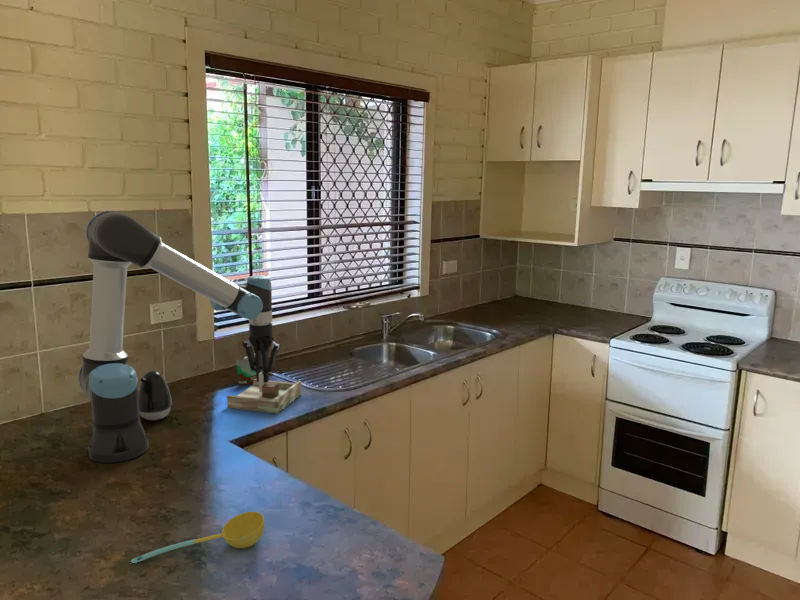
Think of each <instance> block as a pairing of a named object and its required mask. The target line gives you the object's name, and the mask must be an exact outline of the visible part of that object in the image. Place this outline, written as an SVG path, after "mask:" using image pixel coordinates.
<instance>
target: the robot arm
mask: <svg viewBox="0 0 800 600" xmlns="http://www.w3.org/2000/svg"><path fill="white" fill-rule="evenodd" d="M85 234H86V237H87V242H88V250H87V251H88V252H87V254H88V255H87V257H88V258H87V259H88V260H89V261H90V262H91V264H93V271H92V272H93V273H92V274H93V275H92V294H91V310H90V312H91V314H90V332H89V345H88V346H89V348H88V349H86V351H84V352H83V354H82V363H81V364H82V365H81V366H80V369H79V373H78V382H79V386H80V388H81V390H82V391H83V393H84V394H85V395H86V397H87V398H88V400H89V401H90V404H91V405H90V406H91V416H92V424H93V428H92V431H91V432H92V433H91V436H90V441H89V445H88V447H87V448H88V451H87V453H88V457H89V459H90V460H92V461H94V462H97V463H101V464H102V463H103V464H104V463H105V464H109V463H110V464H111V463H122V462H125V461H129V460H132V459H135V458H138V457H139V456H141V455H143V454H144V453H146V452H147V451H148V449H149V447H150V444H149V442H150V441H149V437H148V435H147V434H146V431H145V430H144V429H145V428H144V427H143V425H142V422H141V417H140V416H141V415H140V413H139V399H138V391H139V387H138V384H139V382H138V381H139V380H138V377H137V372H136V369H135V368H133V367H132V366H131V365H129V364H128V356H129V355H128V353H127V352H126V351H125V350H124V349H123V345H124V344H123V343H124V325H125V313H126V312H125V310H126V295H127V279H128V277H127V276H128V267H129V266H131V265H132V264H133V265H136V266H138V267H140V268H142V269H143V268H146V267H148V268H150V269H152V270H153V271H154V272H157V273H159V274H160V275H163V276H165V277H167V278H169V279H171V280H172V281H175V283H177V284H180V285H181V286H184V287H185V288H187V289H189V290H192V292H195V293H197V294H198V295H201V296H203V297H205V299H208V300H209V303H210V305H211V308H212V309H213V310H214V311H223V312H224V311H227V310H228V311H230V312H231V313H234V314H236V315H238V316H240V317H241V318H243V319H247V320H248V322H249V324H248V331H249V333H248V334H249V337H248V340H246V341H245V342H242V346H243V348H244V349H245V353H246V356H247V357H248V361H249V365H250V368H251V370H252V371H255V372H256V376H257V382H259V392H262V386H263V385H264V384H266V383H267V382H268V381H269V380H270V373H271V372H272V371H274V370H275V365H276V362H277V357H278V351H279V349H280V347H281V344H280V343H276V341H275V339H274V337H273V333H274V331H273V323H272V322H273V305H272V301H273V300H272V290H273V289H272V281H271V280H272V279H271V278H270V277H269V276H267V275H263V274H262V275H251V276H250V275H249V276H248V277H247V279H246V283H242V284H241V283H239V284H236V283H235V282H233V281H231V280H229V279H227V278H225V277H224V276H222V275H220V274H218V273H216V272H215V271H213V270H212V269H209V268H208V267H206V266H205V265H203V264H201V263H200V262H197V261H195V260H194V259H192V258H191V257H188V256H187V255H185V254H183V253H181V252H179V251H178V250H176V249H175V248H173V247H171V246H169V245H167V244H166V243H164V242H163V241H162V237H161V236H159V235H157V234H156V233H154V232H152V231H151V230H149V229H148V228H147V227H145V226H144V225H143V224H141V223H140V222H139V221H137V219H135V218H133V217H132V216H129V215H127V214H125V213H121V212H118V211H114V210H110V211H109V210H106V211H102V212H99V213H97V214H95V215H94V216H93V217H92V218H90V220H89V222H88V224H87V226H86V231H85ZM270 348H271V351H270ZM253 351H254V352H253ZM269 352H270V353H269ZM254 353H255V356H254ZM269 354H270V355H269Z"/></svg>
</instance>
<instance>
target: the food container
mask: <svg viewBox="0 0 800 600" xmlns="http://www.w3.org/2000/svg"><path fill="white" fill-rule="evenodd" d="M253 352H254V350H253ZM254 356H255V353H254ZM235 366H236V370H237V378H238V379H237V382H238V386H240V387H241V386H242V387H243V386H252V385H253V379H257V376H256V372H255V371H252V370H251V368H250V365H249V361H248V357H247V355H244V356H243V357H242V358H241V359H236V361H235Z"/></svg>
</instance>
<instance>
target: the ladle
mask: <svg viewBox="0 0 800 600" xmlns="http://www.w3.org/2000/svg"><path fill="white" fill-rule="evenodd" d="M265 525H266V524H265V517H264V515H263V514H262V513H260V512H257V511H246V512H243V513H239V514H237V515H235V516H234V517H232V518H231V519H229V520H228V521H227V522H226V523H225V524H224V525H223V527H222V529H221V533H217V534H213V535H212V534H211V535H208V536H205V537H203V536H202V537H201V538H196V539H195V538H194V539H190V540H186V541H181V542H178V543H175V544H170V545H168V546H164V547H160V548H158V549H155V550H152V551H149V552H147V553H144V554H142V555H140V556H137V557H135V558H132V559H131V560H130V562H132V563H135V564H138V563H139V562H142V561H145V560H147V559H150V558H153V557H155V556H158V555H161V554H163V553H167V552H170V551H173V550H177V549H179V548H184V547H188V546H192V545H195V544H199V543H204V542H208V541H211V540H215V539H216V540H217V539H219V538H223V539H224V541H225V542H226V543H227V544H228V545H230V546H231V547H232V548H236V549H247V548H250V547H252V546H253V545H255V544H256V543H257V542H258V541H259V540H260V539H261V538H262V536H263V534H264V530H265ZM242 537H244V538H242ZM240 538H241V539H240ZM137 562H138V563H137Z"/></svg>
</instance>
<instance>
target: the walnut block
mask: <svg viewBox="0 0 800 600" xmlns="http://www.w3.org/2000/svg"><path fill="white" fill-rule="evenodd" d="M278 395H279V385H278V383H271V382H267V383H266V384H264V385H263V386H262V397H263V398H271V399H274V398H275V397H276V396H278Z"/></svg>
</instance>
